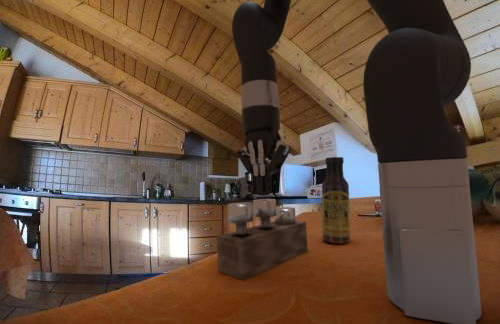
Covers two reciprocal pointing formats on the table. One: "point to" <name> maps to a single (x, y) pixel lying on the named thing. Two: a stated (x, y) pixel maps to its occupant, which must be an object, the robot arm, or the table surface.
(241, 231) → the knob left
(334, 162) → the sauce bottle
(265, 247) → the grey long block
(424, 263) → the robot arm
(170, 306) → the table surface
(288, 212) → the knob right
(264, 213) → the knob middle
